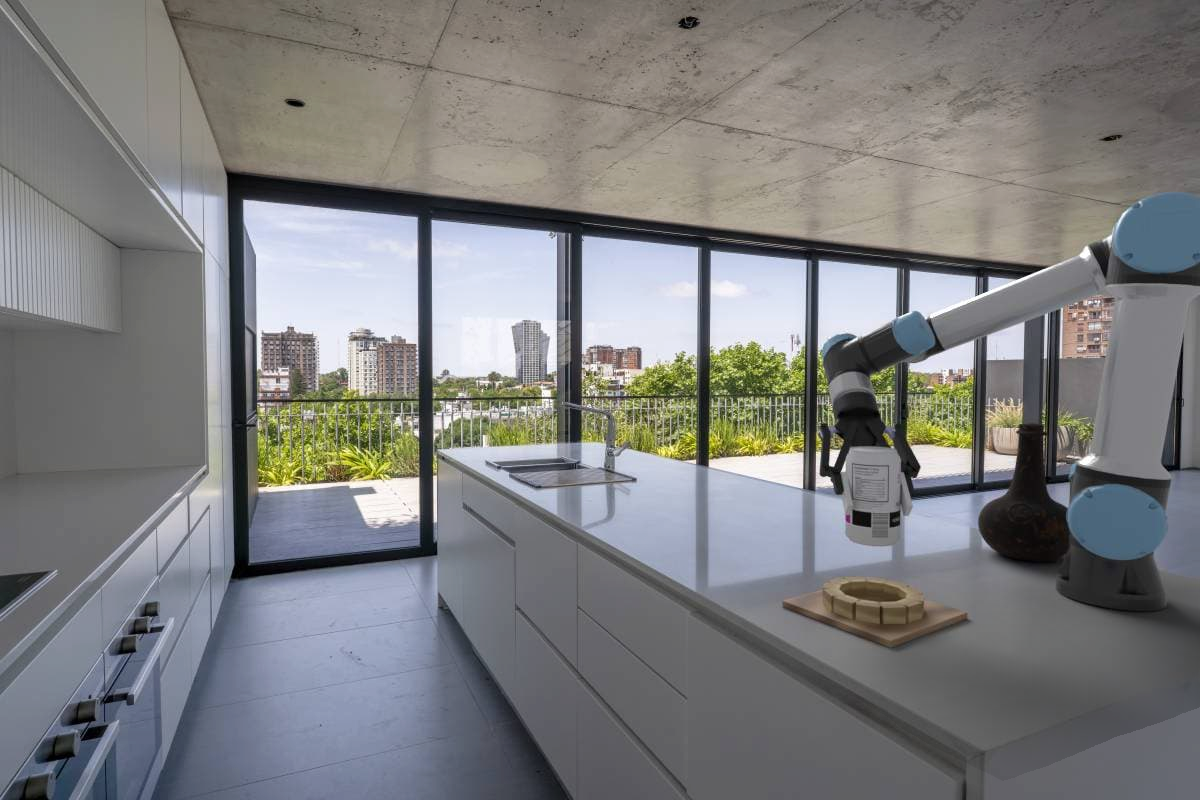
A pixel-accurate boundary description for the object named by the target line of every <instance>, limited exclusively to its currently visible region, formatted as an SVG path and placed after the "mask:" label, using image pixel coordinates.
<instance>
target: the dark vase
mask: <svg viewBox="0 0 1200 800" xmlns="http://www.w3.org/2000/svg"><path fill="white" fill-rule="evenodd" d="M1044 428H1045V425H1044V424H1041V423H1034V422H1033V423H1019V424H1018V430H1016V432H1015V433H1016V434H1017V435H1018V440H1017V442H1018V443H1017V451H1016V459H1015V465H1014V471H1013V475H1012V480H1011V483H1010V485H1009V488H1008V490H1007V491H1006V493H1005V494H1004V495H1002V496H1000V497H998V498H995V499H992V500H991V501H989V502H987V503H986V504H985V505H984V506H983V508H981V510H980V513H979V515H978V520H977V525H978V527H977V528H978V530H979V533H980V536H981V538H982V539H983V540H984V541H985V543H986V544H987V545H988V547H990V548H991V549H992V551H993V550H994V551H995V552H996V553H998V554H1000V555H1002V556H1005V557H1008V558H1013V559H1016V560H1021V561H1029V562H1030V561H1031V562H1044V563H1045V562H1052V561H1056V560H1058V559H1061V558H1064V557H1065V554H1066V552H1067V550H1068V547H1069V527H1068V522H1067V520H1066V514H1067V509H1068V506H1065V505H1064V504H1062V503H1060V502H1058V501H1055V499H1053V498H1052V497H1051V495H1050V494H1049V491H1048V487H1047V481H1046V473H1045V472H1046V471H1045V454H1044V453H1045V452H1044V451H1045V450H1044V436H1045V437H1046V436H1049V432H1046V431H1045V430H1044Z"/></svg>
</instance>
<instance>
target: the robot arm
mask: <svg viewBox="0 0 1200 800" xmlns="http://www.w3.org/2000/svg"><path fill="white" fill-rule="evenodd" d="M1096 296H1103V297H1107V298H1111V297H1113V299H1114V305H1113V311H1112V317H1111V322H1110V329H1109V336H1108V341H1107V348H1106V354H1105V359H1104V366H1103V371H1102V377H1101V383H1100V390H1099V394H1098V395H1099V397H1098V402H1097V407H1096V414H1095V421H1094V426H1093V432H1092V437H1091V438H1092V439H1091V443H1090V450H1089V453H1087V455H1084V456H1083V457H1081V458H1080V459H1078V460H1077V461H1076V462H1074V463H1073V464H1072V465H1071V467H1070V472H1069V473H1070V474H1068V481H1069V502H1068V506H1067V508H1068V509H1067V514H1066V520H1067V522H1068V527H1069V547H1068V550H1067V552H1066V554H1065V555H1064V556H1063V559H1062V562H1061V564H1060V566H1059V569H1058V571H1057V573H1056V575H1055V576H1056V577H1055V589H1056V591H1057V593H1060V594H1061V595H1062V596H1065V597H1067V598H1070V599H1072V600H1074V601H1078V602H1081V603H1084V604H1088V605H1092V606H1098V607H1101V608H1107V609H1114V610H1119V611H1121V610H1122V611H1130V612H1132V611H1133V612H1153V611H1161V610H1163V609H1165V608H1166V607H1167V604H1168V603H1167V598H1168V593H1167V589H1166V586H1165V584H1164V581H1163V579H1162V576H1161V574H1160V570H1159V568H1158V565H1157V563H1156V560H1155V551H1156V550H1157V549H1158V548H1159V547H1160V546H1161V544H1162V543H1163V541H1164V540H1165V538H1166V537H1167V533H1168V530H1169V523H1168V517H1167V514H1166V512H1167V506H1168V500H1169V495H1170V494H1169V493H1170V489H1171V483H1172V479H1173V478H1172V474H1170V472H1169V471H1168V470H1167V469H1166V468H1165V467H1164V466H1163V464H1162V457H1163V451H1164V446H1165V440H1166V434H1167V429H1168V428H1167V427H1168V423H1169V417H1170V412H1171V405H1172V401H1173V397H1174V396H1173V395H1174V389H1175V384H1176V377H1177V371H1178V367H1179V361H1180V356H1181V351H1182V349H1181V348H1182V344H1183V339H1184V333H1185V327H1186V323H1187V322H1186V321H1187V317H1188V310H1189V304H1190V302H1191V301H1192V300H1193V299H1195V298H1196V297H1198V296H1200V196H1198V195H1196V194H1193V193H1189V192H1184V191H1167V192H1160V193H1156V194H1153V195H1149V196H1147V197H1145V198H1142V199H1141V200H1139V201H1137V202H1136V203H1134V204H1133V205H1132V206H1129V207H1128V208H1127V209H1126V210H1125V211H1124V212H1122V214H1121V215H1120V217H1119V218H1118V219H1117V220H1116V223H1115V225H1114V226H1113V228H1112V232H1111V233H1110V234H1108V235H1107V236H1105V237H1103V238H1101V239H1099V240H1097V241H1094V242H1092V243H1089V244H1087V245H1085V246H1084V248H1083V249H1082V251H1081V253H1079V254H1078V255H1075V256H1073V257H1071V258H1068V259H1066V260H1064V261H1060V262H1058V263H1056V264H1053V265H1051V266H1048V267H1045V268H1043V269H1041V270H1039V271H1036V272H1033V273H1031V274H1029V275H1026V276H1024V277H1021V278H1019V279H1016V280H1014V281H1011V282H1009V283H1007V284H1004V285H1001V286H999V287H996V288H994V289H991V290H989V291H987V292H984V293H982V294H978V295H977V296H974V297H972V298H970V299H967V300H963V301H962V302H959V303H957V304H954V305H951V306H950V307H947V308H945V309H942V310H939V311H937V312H934V313H932V314H930V315H928V316H925V317H924V315H923V314H922V313H921V312H920V311H918V310H911V311H910V312H908V313H905V314H903V315H902V314H901V315H898V316H895V318H894V319H892V320H891V321H888V322H886V323H884V324H882V325H880V326H879V327H876V328H874V329H872V330H870V331H869V332H867V333H864V334H862V335H860V336H856V335H855V334H854V333H849V332H844V333H842V334H840V333H837V334H834V335H832V336H831V337H829V338H828V339H827V340H826V341H825V343H824V344H823V346H822V350H821V355H822V365H823V370H824V372H825V378H826V382H827V385H828V393H829V397H830V402H831V405H832V406H831V407H832V412H833V413H832V414H833V419H834V424H833V425H828V424H827V423H826V422H825V423H824V422H823V423H820V426H819V431H818V436H819V439H820V442H821V446H820V447H821V448H820V459H819V462H820V463H819V477H822V478H825V477H828V478H830V482H831V483H832V485H833V490H834V491H833V492H834V493H835V495H837V496H841V501H842V507H843V511H844V515H850V513H851V510H852V507H853V503H852V498H851V493H850V488H849V483H848V478H847V473H846V471H843V468H844V466H845V464H846V456H847V454H848V453H849V451H850V448H851V447H861V446H873V447H887V448H892V446H891V445H890V444H889V443H888V442H887V440H886V437H885V436H884V434H886V435H887V436H888V437H889V440H890V441H892V444H893V446H894V447H893V448H894V449H896V450H897V453H898V455H899V457H900V459H901V510H902V514H903V516H904V517H908V516H910V514H911V511H912V509H913V508H914V505H913V502H912V497H911V496H912V495H913V493H914V490H915V487H914V483H913V479H916V478H917V477H918V475H919V473H920V471H921V469H922V468H921V464H920V463H919V461H918V459H917V457H916V455H915V453H914V451H913V450H912V448H911V446H910V444H909V442H908V439H907V438H906V437H905V435H904V428H903V427H904V425H903V424H901V423H896V424H895V425H886V423H885V422H884V421H883V420H882V418H881V412H880V410H879V406H878V402H877V398H876V394H875V391H874V387H873V383H872V379H871V376H873V375H876V374H877V373H881V372H882V371H884V370H887V369H888V368H891V367H894V366H896V365H898V364H901V363H908V364H918V363H921V362H924V361H926V360H928V359H929V358H931V357H933V356H936V355H938V354H941V353H944V352H946V351H949V350H950V349H951V350H952V349H954V348H956V347H959V346H962V345H965V344H968V343H970V342H973V341H976V340H979V339H982V338H984V337H986V336H990V335H992V334H996V333H997V332H1001V331H1003V330H1006V329H1009V328H1013V326H1017V325H1019V324H1022V323H1025V322H1027V321H1031V320H1033V319H1036V318H1039V317H1041V316H1045V315H1047V314H1049V313H1050V314H1051V313H1052V312H1055V311H1058V310H1060V309H1063V308H1066V307H1069V306H1072V305H1075V304H1077V303H1079V302H1082V301H1085V300H1088V299H1091V298H1094V297H1096ZM834 434H835V435H837V436H838V437H839V438H840V439H841V440H843V442H842V446H841V447H840V450H839V453H838V456H837V457H836V460H835V463H834V466H832V465H830V460H831V459H830V456H831V455H830V454H831V441H832V438H833V437H834Z"/></svg>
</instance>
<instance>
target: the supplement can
mask: <svg viewBox="0 0 1200 800" xmlns="http://www.w3.org/2000/svg"><path fill="white" fill-rule="evenodd" d="M845 472H846V473H847V478H848V483H849V488H850V493H851V498H852V503H853V507H852V510H851V513H850V515H845V514H844V515H845V517H844V518H845V521H844V522H845V523H844V527H845V529H844V530H845V531H844V533H845V537H847V538H848V540H849V541H850V542H852V543H855V544H857V545H861V546H867V547H890V546H891V547H892V546H893V545H894V546H895V545H896V543H897V542H899V541H900V540H901V509H902V507H901V459H900V456H899V454H898V452H897V450H896V448H894V447H891V448H887V447H873V446H861V447H852V446H851V448H850V451H849V453H848V454H847V456H846V461H845Z"/></svg>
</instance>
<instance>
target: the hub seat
mask: <svg viewBox="0 0 1200 800" xmlns="http://www.w3.org/2000/svg"><path fill="white" fill-rule="evenodd" d="M781 602H782V603H781V604H782V605H781V606H782V607H783V608H785V609H788V610H791V611H793V612H796V613H798V614H801V615H804V616H807V617H808V618H812V619H814V620H817V621H819V622H821V623H824V624H827V625H829V626H833V627H835V628H838V629H840V630H843V631H846V632H847V633H850V634H854V635H856V636H858V637H861V638H864V639H866V640H869V641H872V642H873V643H876V644H877V643H878V644H880V645H882V646H885V647H887V648H890V649H891V648H894V647H896V646H900V645H901V644H904V643H907V642H909V641H912V640H915V639H917V638H921V637H922V636H925V635H929V634H930V633H933V632H936V631H938V630H941V629H943V628H946V627H949V626H952V625H954V624H957V623H959V622H961V621H964V619H965V620H967V619H968V611H965V610H961V609H957V608H954V607H951V606H948V605H945V604H941V603H939V602H934V601H931V600H928V599H925V594H924V593H923V592H922V591H920V590H918V589H916V588H915V587H913V586H910V585H909V584H905V583H902V582H898V581H895V580H892V579H891V580H888V579H885V578H877V577H871V576H865V577H864V576H844V577H837V578H834V579H833V578H832V579H830V580H828V581H826V582H824V584H823V587H822V589H819V590H816V591H813V592H808V593H805V594H802V595H798V596H795V597H791V598H787V599H784V600H782V601H781ZM951 624H952V625H951Z"/></svg>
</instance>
